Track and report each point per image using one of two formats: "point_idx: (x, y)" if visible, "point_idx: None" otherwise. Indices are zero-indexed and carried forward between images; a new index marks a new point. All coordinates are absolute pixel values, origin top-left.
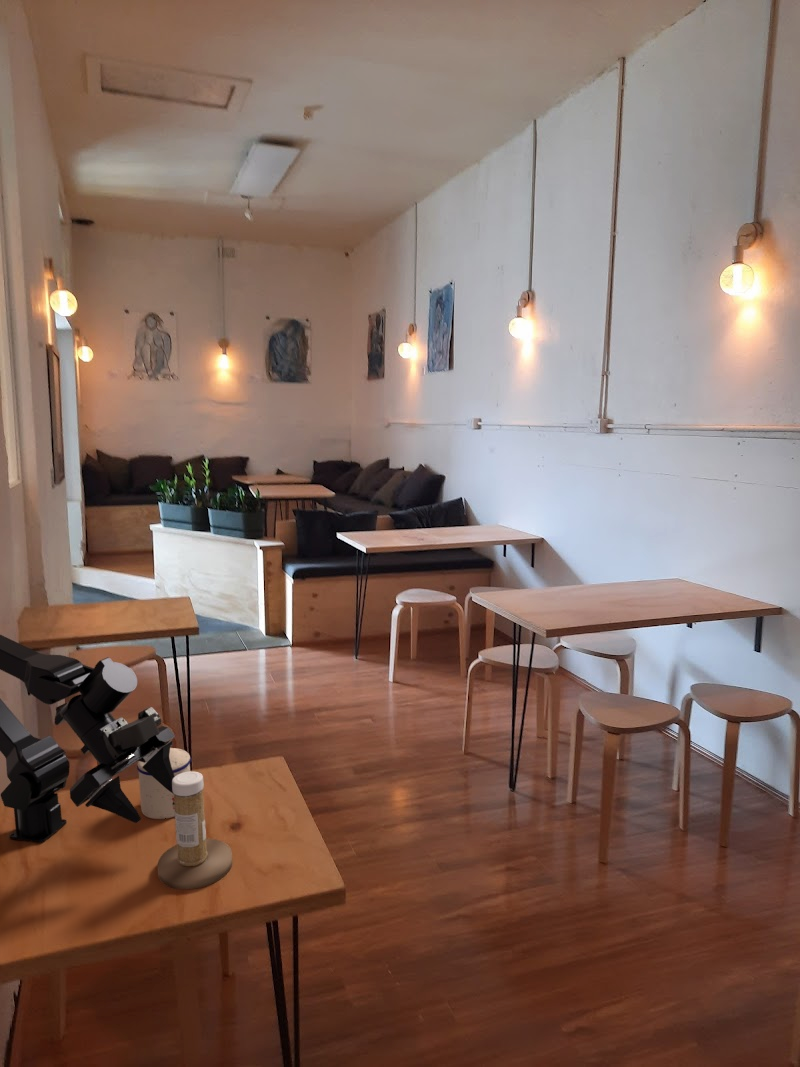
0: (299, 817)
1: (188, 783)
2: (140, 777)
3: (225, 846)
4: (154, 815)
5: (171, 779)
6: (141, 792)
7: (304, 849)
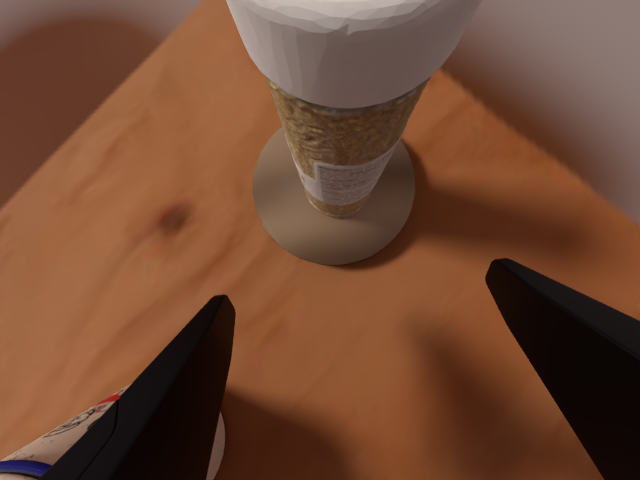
0: (95, 122)
1: None
2: None
3: (266, 156)
4: (220, 426)
5: (196, 344)
6: None
7: (191, 46)
